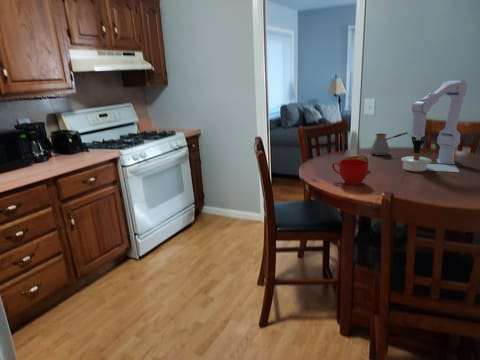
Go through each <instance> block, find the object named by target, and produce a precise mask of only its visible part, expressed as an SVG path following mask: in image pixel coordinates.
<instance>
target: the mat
mask: <svg viewBox="0 0 480 360" xmlns="http://www.w3.org/2000/svg"><path fill="white" fill-rule="evenodd" d="M426 171H433V172H435V171H437V172H453V173H460V170H459V168H458V167H457V165H456V164H442V163H428V164H427V169H426Z"/></svg>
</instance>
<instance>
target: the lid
mask: <svg viewBox="0 0 480 360" xmlns="http://www.w3.org/2000/svg"><path fill="white" fill-rule="evenodd" d="M420 154H421V152H419V153H414V152H413V156H412V155H411V156H404V157H401V158H400V159H401V162H406V163H411V164H432V159H431V158H428V157H425V156H424V157H423V156H421V155H420Z"/></svg>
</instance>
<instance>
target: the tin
mask: <svg viewBox="0 0 480 360" xmlns="http://www.w3.org/2000/svg"><path fill="white" fill-rule="evenodd" d="M348 159H356V160H364V161H367V162H368V163H369V158H368V156H366V155H365V154H356V155H355V154H354V155H348V156H345V157H343V159H342V160H348Z"/></svg>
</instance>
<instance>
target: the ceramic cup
mask: <svg viewBox="0 0 480 360" xmlns="http://www.w3.org/2000/svg"><path fill="white" fill-rule="evenodd" d="M335 165H337V166H338V167H339V171H338V170H337V169H336V167H335ZM331 168H332V170H333V172H335V173H337V174H338V175H340V177H341V179H342V180H343V181H344V183H345V184H347V185H350V186H357V185H360V184H361V183H362V182H363V181H365V179H366V177H367V175H368V171H369V161H368V162H367V161H364V160H356V159H348V160H343V159H341V160H340V161H339V162H333V163H332V167H331Z"/></svg>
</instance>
